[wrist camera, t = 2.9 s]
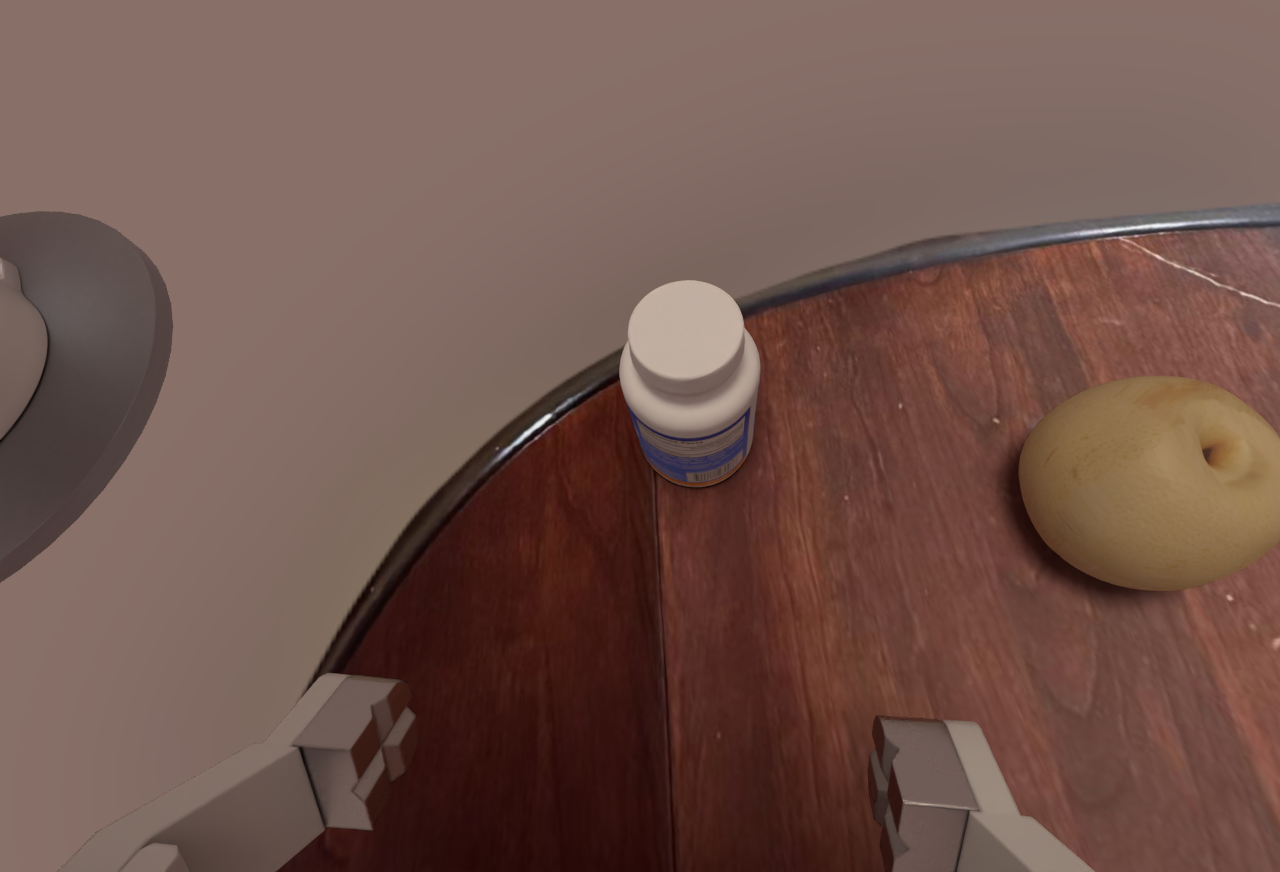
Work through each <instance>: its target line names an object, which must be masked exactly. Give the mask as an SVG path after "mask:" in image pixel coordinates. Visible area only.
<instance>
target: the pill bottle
mask: <svg viewBox="0 0 1280 872" xmlns="http://www.w3.org/2000/svg"><path fill="white" fill-rule="evenodd" d="M759 380H760V358H759V353H758V350H757V347H756V345H755V343H754V341H753V339H752V337H751V336H750V334H749V333H748V332H747V330H746V329H745V328H744V322H743V317H742V314H741V311H740V309H739V307H738V305H737V304H736V302H735V301H734V300H733V299H732V298H731V296H729V295H728V294H727V293H726V292H724V291H723V290H722V289H720V288H718V287H716V286H714V285H711V284H709V283H705V282H701V281H693V280H692V281H691V280H688V281H678V282H672V283H669V284H666V285H663V286H661V287H659V288H657V289H655V290H653V291H652V292H650V293H649V294H648V295H646V296H645V297H644V298H643V299H642V300H641V301H640V302H639V304H638V305H637V306H636V308H635V310H634V311H633V313H632V315H631V318H630V321H629V326H628V342H627V343H626V345H625V347H624V350H623V353H622V357H621V361H620V382H621V387H622V390H623V394H624V397H625V400H626V403H627V405H628V408H629V411H630V414H631V417H632V420H633V423H634V427H635V429H636V433H637V436H638V439H639V442H640V445H641V448H642V450H643V453H644V455H645V457H646V459H647V461H648V462H649V464H650V465H651V466H652V468H653V469H654V470H655V471H656V472H658V473H659V474H660V475H661V476H663V477H664V478H666V479H667V480H669V481H671V482H673V483H676V484H678V485H682V486H687V487H705V486H710V485H713V484H716V483H719V482H721V481H723V480H725V479H726V478H728V477H729V476H731V475H732V474H733V473H734V472H735V471H736V470H737V469H738V468H739V467H740V466H741V465H742V463H743V462H744V461H745V459H746V457H747V455H748V453H749V451H750V448H751V445H752V440H753V434H754V424H755V413H756V405H757V397H758V388H759Z"/></svg>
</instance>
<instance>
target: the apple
mask: <svg viewBox="0 0 1280 872" xmlns="http://www.w3.org/2000/svg"><path fill="white" fill-rule="evenodd" d="M1019 482H1020V488H1021V493H1022V498H1023V502H1024V504H1025V507H1026V510H1027V513H1028V515H1029V517H1030V519H1031V522H1032V523H1033V525H1034V527H1035V529H1036V530H1037V532H1038V533H1039V535H1040V536H1041V538H1042V539H1043V540H1044V542H1045V543H1046V544H1047V545H1048V546H1049V547H1050V548H1051V549H1052V550H1053V551H1054V552H1055V553H1057V554H1058V555H1059V556H1060V557H1061V558H1062V559H1063V560H1065V561H1066V562H1068V563H1069V564H1071V565H1072V566H1074V567H1075V568H1077V569H1079V570H1081V571H1082V572H1084V573H1086V574H1088V575H1090V576H1092V577H1095V578H1097V579H1099V580H1102V581H1105V582H1108V583H1111V584H1114V585H1118V586H1121V587H1126V588H1132V589H1138V590H1147V591H1172V590H1181V589H1187V588H1193V587H1197V586H1200V585H1204V584H1206V583H1210V582H1213V581H1216V580H1218V579H1221V578H1223V577H1226V576H1228V575H1230V574H1232V573H1235V572H1237V571H1239V570H1241V569H1242V568H1244V567H1246V566H1248V565H1250V564H1252V563H1253V562H1255V561H1256V560H1258V559H1259V558H1260V557H1262V556H1263V555H1264V554H1266V553H1267V552H1268V551H1269V550H1271V549H1272V548H1273V547H1274V546H1275V545H1276V544H1277V543H1278V542H1279V541H1280V437H1279V436H1278V434H1277V433H1276V432H1275V430H1274V429H1273V428H1272V427H1271V426H1270V425H1269V424H1268V423H1267V422H1266V421H1265V419H1263V418H1262V417H1261V416H1260V415H1259V414H1258V413H1256V412H1255V411H1254V410H1253V409H1252V408H1251V407H1249V406H1248V405H1247V404H1245V403H1244V402H1242V401H1241V400H1240V399H1238V398H1237V397H1235V396H1234V395H1232V394H1231V393H1229V392H1227V391H1225V390H1223V389H1222V388H1220V387H1217V386H1215V385H1212V384H1209V383H1206V382H1202V381H1199V380H1194V379H1189V378H1183V377H1173V376H1143V377H1134V378H1127V379H1121V380H1116V381H1112V382H1108V383H1105V384H1101V385H1098V386H1095V387H1092V388H1090V389H1087V390H1085V391H1083V392H1081V393H1079V394H1077V395H1075V396H1073V397H1071V398H1069V399H1068V400H1066V401H1065V402H1063V403H1062V404H1060V405H1058V406H1057V407H1056V408H1055V409H1053V410H1052V411H1051V412H1050V413H1048V414H1047V415H1046V416H1045V417H1044V418H1043V419H1042V420H1041V421H1040V422H1039V423H1038V424H1037V425H1036V426H1035V428H1034V429H1033V430H1032V432H1031V433H1030V435H1029V436H1028V438H1027V439H1026V441H1025V444H1024V446H1023V448H1022V452H1021V455H1020V461H1019Z"/></svg>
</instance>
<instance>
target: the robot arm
mask: <svg viewBox="0 0 1280 872" xmlns="http://www.w3.org/2000/svg"><path fill="white" fill-rule="evenodd" d="M47 347H48V337H47V330H46V325H45V322H44V320H43V318H42V315H41V314H40V312H39V311H38V310H37V308H36V307H35V306H34V305H33V304H32V303H31V302H30V301H29V300H28V299H27V298H26V297H25V296H24V295H23V293H22V291H21V281H20V274H19V271H18V268H17V266H16V265H14V264H12V263H10V262H8V261H6V260H4V259H2V258H0V440H1V439H2V438H3V437H4V435H5V434H6V433H7V432H8V431H9V429H10V428H11V427H12V426H13V424H14V423H15V422H16V420H17V419H18V418H19V416H20V415H21V413H22V412H23V410H24V409H25V407H26V406H27V404H28V402H29V401H30V399H31V397H32V395H33V393H34V391H35V389H36V387H37V385H38V382H39V380H40V377H41V375H42V372H43V369H44V365H45V361H46V356H47ZM411 697H412V695H411V691H410V688H409V684H408V682H406V681H403V680H398V679H389V678H379V677H369V676H360V675H345V674H335V673H327V674H325V675H323V676H321V677H319V678H318V679H317V680H316V681H315V683H314V684H313V685H312V686H311V687H310V689H309V690H308V691H307V692H306V693H305V694H304V696H303V697H302V698H301V699H300V700H299V701H298V703H297V704H296V705H295V706H294V707H293V709H292V710H291V711H290V712H289V713H288V714H287V716H286V717H285V718H284V719H283V720H282V721H281V722H280V724H279V725H278V726H277V727H276V728H275V730H274V731H273V732H272V733H271V734H270V735H269V736H268V738H267V739H266V740H265V741H264V742H263V743H254V744H252V745H250V746H248V747H246V748H245V749H243V750H241V751H239V752H238V753H236V754H234V755H232V756H230V757H229V758H227V759H225V760H224V761H222V762H220V763H218V764H216V765H215V766H213V767H211V768H209V769H208V770H206V771H204V772H202V773H200V774H199V775H197V776H195V777H193V778H192V779H190V780H188V781H186V782H184V783H183V784H181V785H179V786H177V787H176V788H174V789H172V790H170V791H169V792H167V793H165V794H163V795H161V796H160V797H158V798H156V799H154V800H153V801H151V802H149V803H147V804H145V805H144V806H142V807H140V808H138V809H137V810H135V811H133V812H131V813H129V814H128V815H126V816H124V817H122V818H121V819H119V820H117V821H115V822H113V823H112V824H110V825H109V826H107V827H105V828H103V829H101V830H99V831H97V832H96V833H95V834H94V835H93V836H92V837H91V838H90V839H89V840H88V841H87V842H86V843H85V844H84V845H83V846H82V847H81V848H80V849H79V850H78V851H77V852H76V853H75V854H74V855H73V856H72V857H71V858H70V859H69V860H68V861H67V862H66V863H65V864H64V865H63V866H62V867H61V868H60V869H59V870H58V871H57V872H276V871H277V870H278V869H279V868H281V867H282V866H283V865H284V864H285V863H287V862H288V861H289V860H290V859H291V858H292V857H294V856H295V855H296V854H297V853H298V852H300V851H301V850H302V849H303V848H304V847H305V846H307V845H308V844H309V843H310V842H311V841H313V840H314V839H315V838H316V837H317V836H318V835H320V834H321V833H322V832H323V831H324V830H325V827H334V828H346V829H359V830H371V831H372V830H373V828H374V827H375V825H376V823H377V821H378V820H379V818H380V816H381V814H382V812H383V811H384V809H385V807H386V805H387V804H388V802H389V800H390V798H391V797H392V795H393V794H392V788H391V782H392V781H393V780H395V779H396V778H398V777H399V776H400V775H402V774H403V773H405V772H406V770H407V768H408V766H409V764H410V763H411V761H412V759H413V757H414V753H415V749H416V746H417V742H418V728H419V726H418V721H417V717H416V715H415V714H414V713H413V712H412V711H411V710H410V709H409V708H408V707H407V706H406V705H407V704H408V702H409V700H410V699H411ZM872 735H873V739H874V744H875V748H876V749H875V750H873V751H872V752H871V753H870V754H869V764H868V789H869V796H870V803H871V808H872V813H873V817H874V819H875V820H876V821H877V822H878V823H879V825H880V826H881V827H882V833H881V840H880V849H881V854H882V858H883V863H884V867H885V871H886V872H1095V871H1094V870H1093V869H1092V868H1091V867H1089V866H1088V865H1087V864H1086V863H1085V862H1084V861H1082V860H1081V859H1080V858H1079V857H1078V856H1077V855H1075V854H1074V853H1073V852H1072V851H1071V850H1070V849H1069V848H1067V847H1066V846H1065V845H1064V844H1063V843H1062V842H1060V841H1059V840H1058V839H1057V838H1056V837H1055V836H1053V835H1052V834H1051V833H1050V832H1049V831H1048V830H1047V829H1045V828H1044V827H1043V826H1042V825H1041V824H1040V823H1038V822H1037V821H1036V820H1035V819H1034V818H1033V817H1027V816H1021V814H1020V812H1019V810H1018V808H1017V806H1016V803H1015V801H1014V799H1013V797H1012V795H1011V792H1010V790H1009V788H1008V786H1007V784H1006V782H1005V779H1004V777H1003V775H1002V773H1001V771H1000V769H999V766H998V764H997V762H996V760H995V758H994V756H993V753H992V751H991V749H990V747H989V745H988V743H987V740H986V738H985V736H984V734H983V732H982V730H981V727H980V726H979V725H978V724H977V723H976V722H971V721H956V720H941V721H940V720H938V719H924V718H909V717H894V716H878V715H876V717H875V720H874V723H873V730H872Z"/></svg>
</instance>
